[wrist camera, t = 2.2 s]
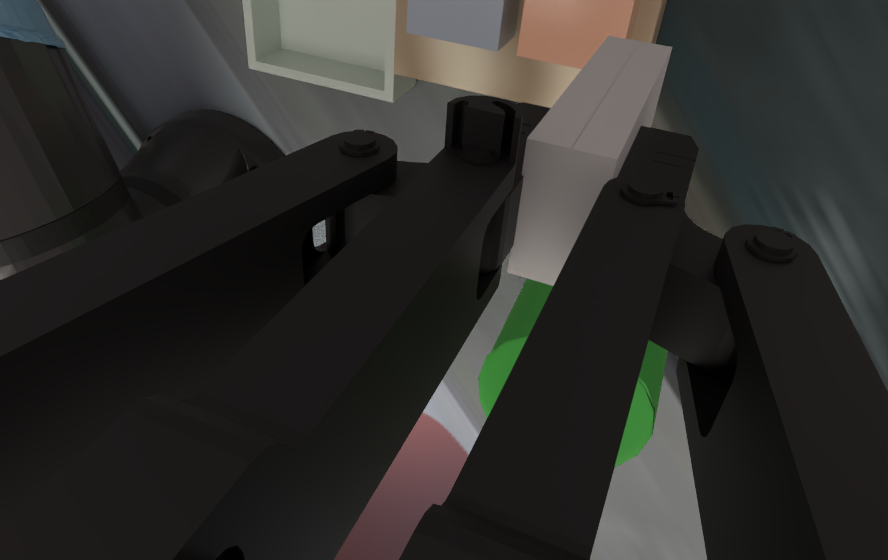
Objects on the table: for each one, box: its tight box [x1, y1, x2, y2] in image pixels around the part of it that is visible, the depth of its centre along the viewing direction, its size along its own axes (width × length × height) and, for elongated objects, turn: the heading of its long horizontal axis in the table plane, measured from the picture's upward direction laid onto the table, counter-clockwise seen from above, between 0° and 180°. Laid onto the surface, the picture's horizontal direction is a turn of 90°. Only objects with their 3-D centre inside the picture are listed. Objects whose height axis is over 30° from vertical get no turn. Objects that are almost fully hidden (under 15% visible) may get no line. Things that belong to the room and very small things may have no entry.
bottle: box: [478, 278, 668, 467], centre depth 35 cm, size 9×9×25 cm
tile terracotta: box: [517, 0, 641, 69], centre depth 32 cm, size 5×5×3 cm
